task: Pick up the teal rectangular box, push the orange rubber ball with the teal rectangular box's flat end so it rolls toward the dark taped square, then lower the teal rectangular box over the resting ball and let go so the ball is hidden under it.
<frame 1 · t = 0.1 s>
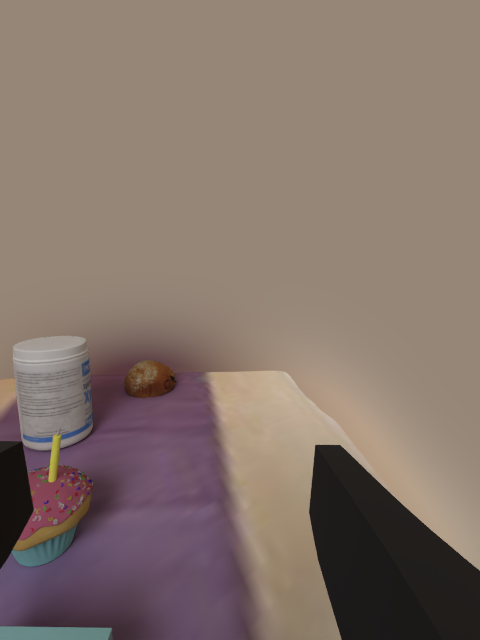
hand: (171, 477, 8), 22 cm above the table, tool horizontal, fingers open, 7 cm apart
cupcake: (44, 547, 30), on the table
supplement tub: (59, 436, 49), on the table
bread roll: (151, 389, 68), on the table
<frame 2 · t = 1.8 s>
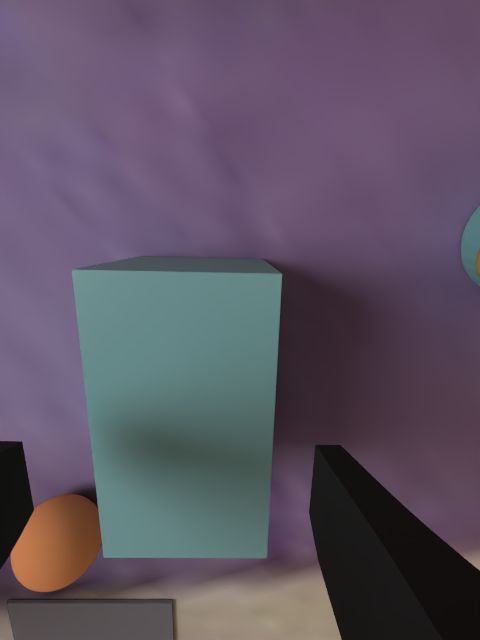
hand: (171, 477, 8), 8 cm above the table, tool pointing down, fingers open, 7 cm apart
ball: (59, 539, 16), on the table
teal rectangular box: (202, 358, 16), on the table
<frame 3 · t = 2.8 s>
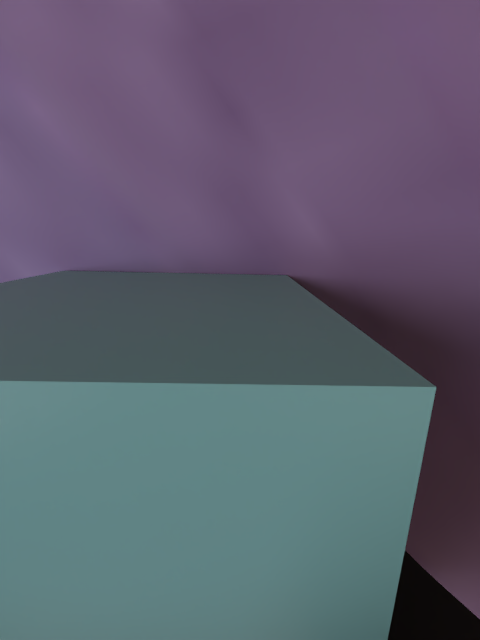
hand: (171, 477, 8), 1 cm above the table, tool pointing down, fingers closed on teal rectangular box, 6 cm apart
teal rectangular box: (180, 442, 9), on the table, touching gripper
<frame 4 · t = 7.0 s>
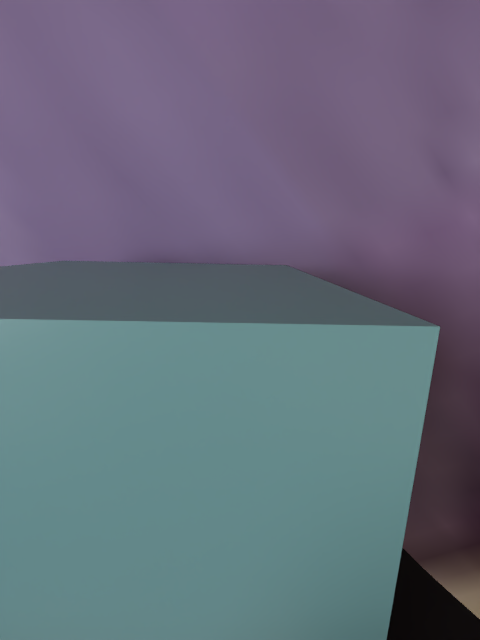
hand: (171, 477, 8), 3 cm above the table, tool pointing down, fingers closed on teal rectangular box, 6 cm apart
teal rectangular box: (180, 436, 9), point 1 cm above the table, touching gripper
when the fingers open (2 cm above the table, at t = 12.0 s): teal rectangular box drops 1 cm, on the table.
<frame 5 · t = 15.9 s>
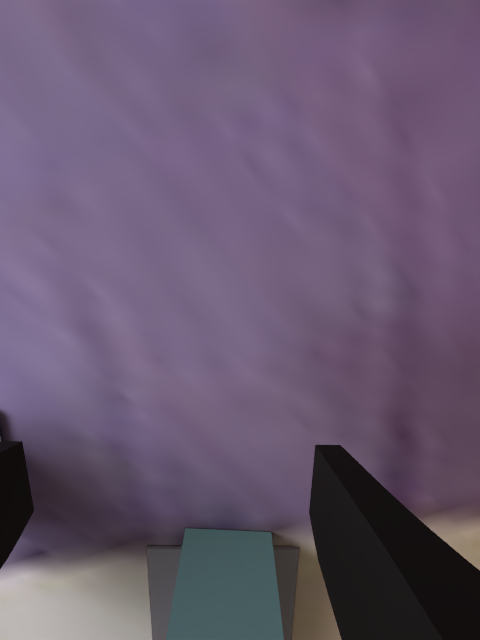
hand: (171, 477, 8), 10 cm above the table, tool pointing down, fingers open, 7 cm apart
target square: (222, 602, 22), on the table
teal rectangular box: (224, 586, 22), on the table
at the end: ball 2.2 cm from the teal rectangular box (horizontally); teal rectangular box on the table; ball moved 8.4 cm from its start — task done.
